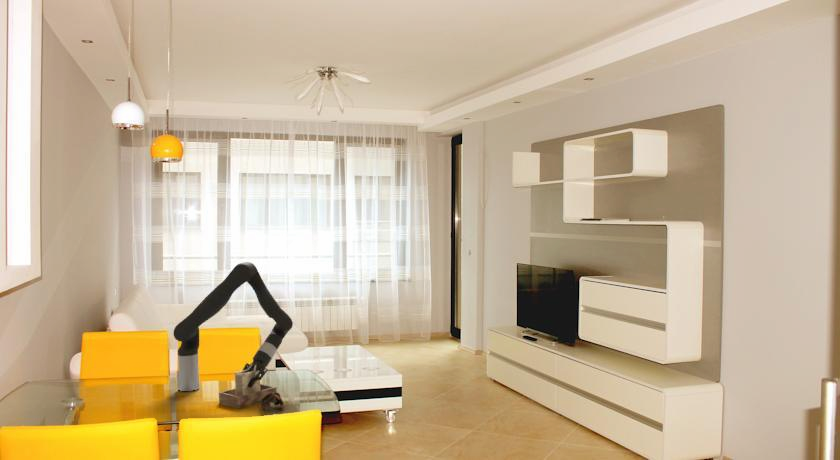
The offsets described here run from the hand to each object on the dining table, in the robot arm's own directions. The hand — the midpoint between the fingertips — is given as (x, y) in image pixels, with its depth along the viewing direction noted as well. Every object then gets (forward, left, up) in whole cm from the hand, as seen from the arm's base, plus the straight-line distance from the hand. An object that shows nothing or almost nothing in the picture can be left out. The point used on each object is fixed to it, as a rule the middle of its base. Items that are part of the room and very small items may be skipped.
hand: (244, 385), depth 289 cm
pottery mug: (+19, -9, -7) cm, 22 cm away
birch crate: (+1, +2, -5) cm, 5 cm away
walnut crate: (+1, +1, -7) cm, 7 cm away
